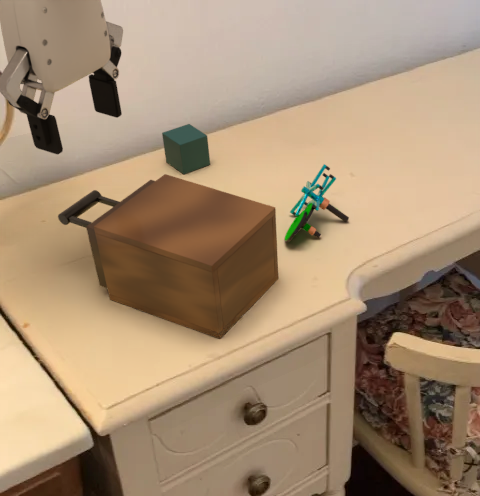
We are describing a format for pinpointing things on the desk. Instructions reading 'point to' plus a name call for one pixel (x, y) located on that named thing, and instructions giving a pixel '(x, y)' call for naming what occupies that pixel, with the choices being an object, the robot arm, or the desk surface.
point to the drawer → (83, 206)
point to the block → (186, 148)
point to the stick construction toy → (312, 206)
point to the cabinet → (189, 254)
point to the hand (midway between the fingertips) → (80, 131)
